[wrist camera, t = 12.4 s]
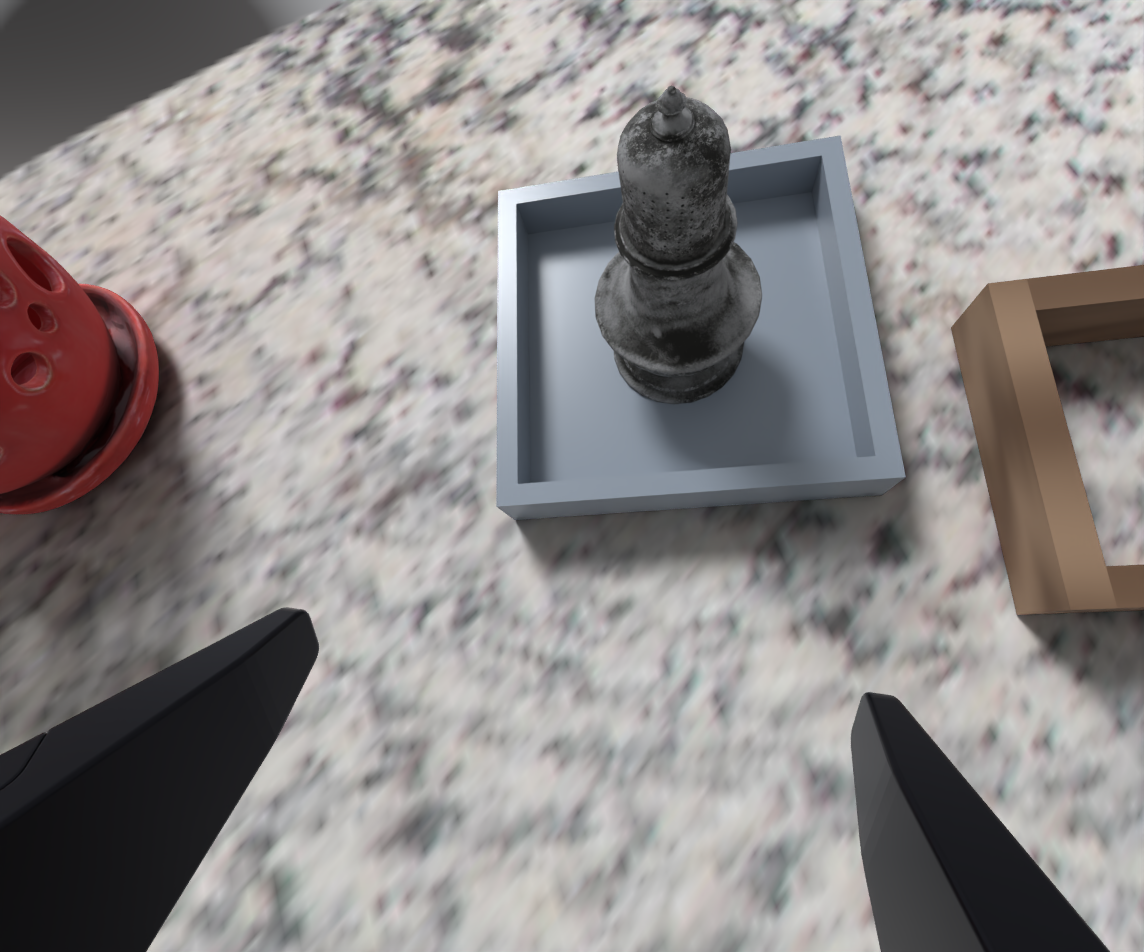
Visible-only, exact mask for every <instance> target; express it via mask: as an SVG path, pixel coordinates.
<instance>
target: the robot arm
mask: <svg viewBox="0 0 1144 952" xmlns="http://www.w3.org/2000/svg"><path fill="white" fill-rule="evenodd" d="M318 651H319V643H318V640H317V637H316V634H315V630H314V627H313V624H312V621H311V618H310V616H309V614H308V613H307V612H306V611H305V610H302V609H295V608H288V607H286V608H281V609H279V610H277V611H275V612H273V613H271V614H269V615H267V616H265V617H263V618H261V619H259V620H257V621H256V622H254V623H252V624H250V625H248V626H246V627H244V628H242V629H240V630H238V631H237V632H235V633H233V634H231V635H229V636H227V637H225V638H223V639H221V640H219V641H217V642H216V643H214V644H212V645H210V646H208V647H206V648H204V649H202V650H200V651H198V652H196V653H195V654H193V655H191V656H189V657H187V658H185V659H183V660H181V661H179V662H177V663H175V664H174V665H172V666H170V667H168V668H166V669H164V670H162V671H160V672H158V673H156V674H154V675H153V676H151V677H149V678H147V679H145V680H143V681H141V682H139V683H137V684H135V685H133V686H132V687H130V688H128V689H126V690H124V691H122V692H120V693H118V694H116V695H114V696H112V697H111V698H109V699H107V700H105V701H103V702H101V703H99V704H97V705H95V706H93V707H91V708H90V709H88V710H86V711H84V712H82V713H80V714H78V715H76V716H74V717H72V718H70V719H69V720H67V721H65V722H63V723H61V724H59V725H57V726H55V727H53V728H51V729H50V730H49V731H48V732H47V733H42V734H40V735H38V736H36V737H34V738H32V739H30V740H28V741H26V742H25V743H23V744H21V745H19V746H17V747H15V748H13V749H11V750H9V751H7V752H5V753H3V754H1V755H0V952H146V951H147V950H148V948H149V946H150V945H151V943H152V942H153V940H154V938H155V937H156V935H157V933H158V932H159V930H160V929H161V927H162V925H163V924H164V922H165V920H166V919H167V917H168V916H169V914H170V912H171V911H172V909H173V907H174V906H175V904H176V902H177V901H178V899H179V898H180V896H181V894H182V893H183V891H184V889H185V888H186V886H187V885H188V883H189V881H190V880H191V878H192V876H193V875H194V873H195V872H196V870H197V868H198V867H199V865H200V863H201V862H202V860H203V859H204V857H205V855H206V854H207V852H208V850H209V849H210V847H211V846H212V844H213V842H214V841H215V839H216V837H217V836H218V834H219V832H220V831H221V829H222V828H223V826H224V824H225V823H226V821H227V819H228V818H229V816H230V815H231V813H232V811H233V810H234V808H235V806H236V805H237V803H238V802H239V800H240V798H241V797H242V795H243V793H244V792H245V790H246V789H247V787H248V785H249V784H250V782H251V780H252V779H253V777H254V775H255V774H256V772H257V771H258V769H259V767H260V766H261V764H262V762H263V761H264V759H265V758H266V756H267V754H268V753H269V751H270V749H271V748H272V746H273V744H274V742H275V741H276V739H277V737H278V735H279V733H280V731H281V730H282V728H283V726H284V724H285V722H286V720H287V718H288V716H289V714H290V712H291V710H292V707H293V705H294V703H295V701H296V699H297V697H298V695H299V693H300V691H301V689H302V687H303V685H304V683H305V681H306V679H307V677H308V675H309V673H310V671H311V669H312V667H313V665H314V663H315V661H316V658H317V656H318ZM851 751H852V762H853V772H854V783H855V794H856V805H857V815H858V826H859V837H860V846H861V855H862V860H863V866H864V872H865V877H866V882H867V886H868V891H869V896H870V901H871V906H872V911H873V916H874V920H875V925H876V930H877V935H878V940H879V945H880V949H881V952H1110V951H1109V950H1108V949H1107V947H1106V946H1105V945H1104V944H1103V943H1102V941H1101V940H1100V939H1099V938H1098V937H1097V935H1096V934H1095V933H1094V932H1093V931H1092V929H1091V928H1090V927H1089V926H1088V925H1087V923H1086V922H1085V921H1084V920H1083V919H1082V918H1081V916H1080V915H1079V914H1078V913H1077V912H1076V910H1075V909H1074V908H1073V907H1072V906H1071V904H1070V903H1069V902H1068V901H1067V900H1066V898H1065V897H1064V896H1063V895H1062V894H1061V892H1060V891H1059V890H1058V889H1057V888H1056V886H1055V885H1054V884H1053V883H1052V882H1051V881H1050V879H1049V878H1048V877H1047V876H1046V875H1045V873H1044V872H1043V871H1042V870H1041V869H1040V867H1039V866H1038V865H1037V864H1036V863H1035V861H1034V860H1033V859H1032V858H1031V857H1030V855H1029V854H1028V853H1027V852H1026V851H1025V850H1024V848H1023V847H1022V846H1021V845H1020V844H1019V842H1018V841H1017V840H1016V839H1015V838H1014V836H1013V835H1012V834H1011V833H1010V832H1009V830H1008V829H1007V828H1006V827H1005V826H1004V824H1003V823H1002V822H1001V821H1000V820H999V819H998V817H997V816H996V815H995V814H994V813H993V811H992V810H991V809H990V808H989V807H988V805H987V804H986V803H985V802H984V801H983V799H982V798H981V797H980V796H979V795H978V793H977V792H976V791H975V790H974V789H973V787H972V786H971V785H970V784H969V783H968V782H967V780H966V779H965V778H964V777H963V776H962V774H961V773H960V772H959V771H958V770H957V768H956V767H955V766H954V765H953V764H952V762H951V761H950V760H949V759H948V758H947V756H946V755H945V754H944V753H943V752H942V751H941V749H940V748H939V747H938V746H937V745H936V743H935V742H934V741H933V740H932V739H931V737H930V736H929V735H928V734H927V733H926V731H925V730H924V729H923V728H922V727H921V725H920V724H919V723H918V722H917V721H916V720H915V718H914V717H913V716H912V715H911V714H910V712H909V711H908V710H907V709H906V708H905V706H904V705H903V704H902V703H901V702H900V701H899V700H898V699H897V698H896V697H894V696H891V695H885V694H878V693H871V692H867V693H865V694H864V695H863V696H862V698H861V700H860V704H859V707H858V710H857V714H856V717H855V721H854V724H853V727H852V732H851Z"/></svg>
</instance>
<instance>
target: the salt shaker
mask: <svg viewBox="0 0 1144 952" xmlns="http://www.w3.org/2000/svg"><path fill="white" fill-rule="evenodd" d="M730 154H731V147H730V141H729V135H728V130H727V127H726V126H725V124H724V122H723V120H722V118H721V117H720V116H719V115H718V114H717V113H716V112H715V111H714V110H713V109H711V108H710V107H709V106H708V105H706V104H704V103H702V102H700V101H698V100H695V99H692V98H688V97H686V96H685V94H683V93H681V92H680V91H679V90H678V89H676V88H675V87H674V86H669V87H668V89H666V90H665V91H664V92H663V94H662V95H661V96H660V97H659V98H658V100H657V101H655V102H652V103H650V104H648V105H647V106H645V107H644V108H642V109H641V110H639V111H638V112H637V114H636V115H635V116H634V117H633V118H632V119H631V120H630V121H629V122H628V124H627V125H626V127H625V128H624V130H623V132H622V134H621V136H620V141H619V145H618V151H617V163H618V172H619V179H620V186H621V193H622V200H623V203H622V205H621V207H620V209H619V211H618V213H617V215H616V220H615V224H614V234H615V243H616V245H617V248H618V250H619V252H618V253H617V254H616V255H615V256H614V257H613V258H612V259H611V260H610V262H609V263H608V264H607V266H606V268H605V270H604V272H603V273H602V275H601V277H600V279H599V281H598V286H597V290H596V294H595V298H594V299H595V317H596V320H597V323H598V326H599V328H600V331H601V334H602V336H603V338H604V339H605V340H606V342H607V343H608V344H609V346H610V347H611V348H612V349H613V351H614V360H615V362H616V365H617V368H618V370H619V373H620V375H621V376H622V377H623V379H624V380H625V381H626V383H627V384H628V385H629V386H630V387H631V388H632V389H634V390H635V391H636V392H638V393H639V394H640V395H642V396H644V397H646V398H649V399H651V400H654V401H656V402H661V403H668V404H682V403H692V402H695V401H697V400H700V399H703V398H706V397H709V396H710V395H712V394H713V393H715V392H716V391H718V390H719V389H721V388H722V387H723V386H724V385H725V384H726V383H727V382H728V381H729V380H730V378H731V377H732V376H733V375H734V374H735V372H736V369H737V367H738V365H739V363H740V361H741V359H742V353H743V347H744V341H745V340H746V339H747V338H748V337H749V336H750V334H751V332H752V330H753V328H754V326H755V324H756V322H757V320H758V317H759V313H760V307H761V301H762V289H761V282H760V276H759V274H758V272H757V270H756V268H755V266H754V263H753V261H752V259H751V258H750V257H749V256H748V255H747V254H746V253H745V251H744V250H743V249H742V248H741V247H740V246H739V245H738V244H737V243H735V242H734V240H735V236H736V230H737V224H738V222H737V216H736V209H735V207H734V205H733V203H732V201H731V199H730V197H729V196H728V195H727V186H728V176H729V165H730Z"/></svg>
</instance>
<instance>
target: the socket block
mask: <svg viewBox="0 0 1144 952" xmlns="http://www.w3.org/2000/svg"><path fill="white" fill-rule="evenodd" d="M951 330H952V334H953V338H954V343H955V347H956V351H957V356H958V360H959V364H960V369H961V373H962V377H963V382H964V386H965V391H966V395H967V399H968V404H969V408H970V412H971V417H972V421H973V425H974V430H975V434H976V439H977V443H978V447H979V452H980V456H981V460H982V465H983V469H984V473H985V478H986V482H987V487H988V491H989V495H990V500H991V504H992V508H993V513H994V517H995V521H996V526H997V530H998V535H999V539H1000V543H1001V548H1002V552H1003V556H1004V561H1005V565H1006V569H1007V574H1008V578H1009V582H1010V587H1011V591H1012V596H1013V600H1014V604H1015V609H1016V613H1017V615H1028V614H1056V613H1083V612H1111V611H1139V610H1144V565H1127V566H1106V565H1105V561H1104V557H1103V554H1102V550H1101V547H1100V543H1099V539H1098V536H1097V532H1096V528H1095V525H1094V521H1093V517H1092V514H1091V510H1090V507H1089V503H1088V499H1087V496H1086V492H1085V488H1084V485H1083V481H1082V478H1081V474H1080V470H1079V467H1078V463H1077V459H1076V456H1075V452H1074V448H1073V445H1072V441H1071V438H1070V434H1069V430H1068V427H1067V423H1066V419H1065V416H1064V412H1063V409H1062V405H1061V401H1060V398H1059V394H1058V390H1057V387H1056V383H1055V379H1054V376H1053V372H1052V369H1051V365H1050V361H1049V358H1048V354H1047V350H1046V346H1056V345H1066V344H1076V343H1086V342H1096V341H1105V340H1115V339H1125V338H1135V337H1144V265H1140V266H1131V267H1123V268H1114V269H1106V270H1098V271H1089V272H1081V273H1072V274H1064V275H1056V276H1047V277H1039V278H1031V279H1022V280H1014V281H1005V282H997V283H989V284H987V285H986V286H985V288H984V289H983V290H982V291H981V292H980V294H979V295H978V296H977V297H976V298H975V300H974V301H973V302H972V303H971V304H970V306H969V307H968V308H967V309H966V310H965V312H964V313H963V314H962V315H961V316H960V318H959V319H958V320H957V321H956V322H955V324H954V325H953V326H952V327H951Z"/></svg>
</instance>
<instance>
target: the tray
mask: <svg viewBox="0 0 1144 952" xmlns="http://www.w3.org/2000/svg"><path fill="white" fill-rule="evenodd" d="M727 195H728V196H729V197H730V199H731V201H732V203H733V205H734V207H735V209H736V216H737V222H738V224H737V230H736V236H735V240H734V242H735V243H737V244H738V245H739V246H740V247H741V248H742V249H743V250H744V251H745V253H746V254H747V255H748V256H749V257H750V258H751V259H752V261H753V263H754V266H755V268H756V270H757V272H758V274H759V276H760V282H761V289H762V301H761V307H760V313H759V317H758V320H757V322H756V324H755V326H754V328H753V330H752V332H751V334H750V336H749V337H748V338H747V339H746V340H745V341H744V347H743V353H742V359H741V361H740V363H739V365H738V367H737V369H736V372H735V374H734V375H733V376H732V377H731V378H730V380H729V381H728V382H727V383H726V384H725V385H724V386H723V387H722V388H721V389H719V390H718V391H716V392H715V393H713V394H712V395H710V396H709V397H706V398H703V399H700V400H697V401H695V402H692V403H682V404H668V403H661V402H656V401H654V400H651V399H649V398H646V397H644V396H642V395H640V394H639V393H638V392H636V391H635V390H634V389H632V388H631V387H630V386H629V385H628V384H627V383H626V381H625V380H624V379H623V377H622V376H621V375H620V373H619V370H618V368H617V365H616V362H615V360H614V351H613V349H612V348H611V347H610V346H609V344H608V343H607V342H606V340H605V339H604V338H603V336H602V334H601V331H600V328H599V326H598V323H597V320H596V317H595V299H594V298H595V294H596V290H597V286H598V281H599V279H600V277H601V275H602V273H603V272H604V270H605V268H606V266H607V264H608V263H609V262H610V260H611V259H612V258H613V257H614V256H615V255H616V254H617V253H618V252H619V250H618V248H617V245H616V243H615V234H614V224H615V220H616V215H617V213H618V211H619V209H620V207H621V205H622V203H623V200H622V193H621V186H620V179H619V172H613V173H607V174H601V175H595V176H588V177H582V178H576V179H570V180H564V181H558V182H551V183H545V184H539V185H533V186H527V187H521V188H515V189H508V190H502V191H498V333H497V507H498V508H499V509H501V510H502V511H503V512H505V513H506V514H507V515H509V516H510V517H511V518H513V519H514V520H523V519H537V518H552V517H567V516H582V515H596V514H611V513H626V512H640V511H655V510H670V509H685V508H699V507H714V506H729V505H743V504H758V503H773V502H788V501H802V500H817V499H832V498H846V497H861V496H876V495H883V494H884V493H886V492H887V491H888V490H889V489H891V488H892V487H893V486H895V485H896V484H897V483H899V482H900V481H901V480H903V479H904V478H905V477H906V476H905V471H904V466H903V461H902V455H901V450H900V445H899V440H898V434H897V429H896V424H895V419H894V413H893V408H892V403H891V398H890V392H889V387H888V382H887V377H886V372H885V366H884V361H883V356H882V351H881V345H880V340H879V335H878V330H877V324H876V319H875V314H874V309H873V303H872V298H871V293H870V288H869V283H868V277H867V272H866V267H865V262H864V256H863V251H862V246H861V241H860V235H859V230H858V225H857V220H856V214H855V209H854V204H853V199H852V194H851V188H850V183H849V178H848V173H847V167H846V162H845V157H844V152H843V146H842V141H841V136H835V137H829V138H822V139H816V140H810V141H804V142H798V143H792V144H785V145H779V146H773V147H767V148H761V149H755V150H748V151H742V152H736V153H731V154H730V165H729V176H728V186H727Z"/></svg>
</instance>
